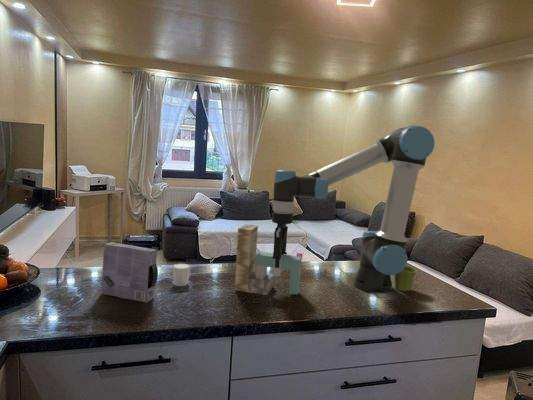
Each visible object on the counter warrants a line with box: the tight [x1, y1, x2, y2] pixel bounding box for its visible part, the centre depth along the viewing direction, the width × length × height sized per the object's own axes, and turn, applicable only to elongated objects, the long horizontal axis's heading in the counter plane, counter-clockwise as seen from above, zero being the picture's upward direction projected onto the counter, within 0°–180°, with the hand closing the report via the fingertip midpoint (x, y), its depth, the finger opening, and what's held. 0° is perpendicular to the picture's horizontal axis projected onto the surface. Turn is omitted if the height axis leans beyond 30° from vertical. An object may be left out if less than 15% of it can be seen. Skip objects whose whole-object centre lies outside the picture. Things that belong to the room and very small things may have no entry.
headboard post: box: [234, 224, 274, 296], centre depth 147 cm, size 12×10×24 cm
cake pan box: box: [100, 241, 159, 304], centre depth 132 cm, size 19×5×18 cm, turn 74°
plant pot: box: [394, 265, 418, 292], centre depth 159 cm, size 9×9×9 cm
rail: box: [256, 251, 303, 295], centre depth 146 cm, size 16×5×13 cm, turn 76°
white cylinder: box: [171, 263, 191, 287], centre depth 149 cm, size 7×7×7 cm
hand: (278, 273), depth 146 cm, fingers closed on rail, 5 cm apart
